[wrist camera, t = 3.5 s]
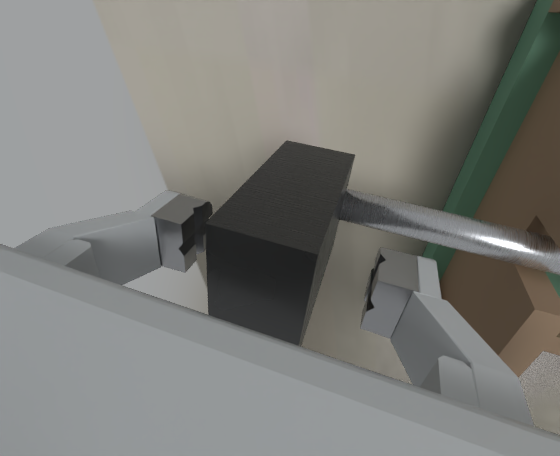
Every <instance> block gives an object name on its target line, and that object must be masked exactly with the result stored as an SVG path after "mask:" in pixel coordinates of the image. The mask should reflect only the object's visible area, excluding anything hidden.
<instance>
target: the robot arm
mask: <svg viewBox="0 0 560 456" xmlns="http://www.w3.org/2000/svg"><path fill="white" fill-rule="evenodd" d="M212 214H213V213H212V204H211V203H210V202H209V201H206V200H202V199H199V198H195V197H192V196H188V195H185V194H181V193H178V192H174V191H170V190H165V191H164V192H163V193H161V194H160V195H158V196H157V197H155V198H154V199H152V200H151V201H150V202H148V203H147V204H146V205H144V206H142V207H141V208H140V209H138V210H137V211H135V212H134V211H126V212H122V213H117V214H113V215H108V216H104V217H99V218H94V219H89V220H85V221H80V222H76V223H71V224H66V225H62V226H57V227H52V228H48V229H47V230H45V231H43V232H41V233H40V234H38V235H36V236H34V237H33V238H31V239H29V240H28V241H26V242H24V243H22V244H21V245H19V246H17V247H16V248H11V247H8V246H5V245H2V244H0V456H560V435H558V434H555V433H552V432H549V431H546V430H543V429H541V428H538V427H535V426H534V424H533V421H532V418H531V415H530V412H529V408H528V405H527V402H526V399H525V396H524V393H523V390H522V386H521V383H520V380H519V378H518V377H517V376H516V374H515V373H514V372H513V371H512V370H511V369H510V368H509V367H508V366H507V365H506V364H505V363H504V362H503V360H502V359H501V358H500V357H499V356H498V355H497V354H496V353H495V352H494V351H493V350H492V349H491V347H490V346H489V345H488V344H487V343H486V342H485V341H484V340H483V339H482V338H481V337H480V336H479V335H478V333H477V332H476V331H475V330H474V329H473V328H472V327H471V326H470V325H469V324H468V323H467V322H466V320H465V319H464V318H463V317H462V316H461V315H460V314H459V313H458V312H457V311H456V310H455V309H454V308H453V306H452V305H451V304H450V303H449V302H448V301H446V300H443V299H442V298H441V291H440V284H439V277H438V270H437V263H436V261H435V260H434V259H429V258H425V257H421V256H415V255H411V254H407V253H403V252H399V251H395V250H391V249H386V248H382V247H380V248H379V251H378V253H377V256H376V260H375V267H374V269H372V270H371V273H370V277H369V280H368V283H367V287H366V292H365V298H364V300H365V305H364V308H363V311H362V319H361V326H360V328H361V329H364V330H367V331H370V332H373V333H375V334H378V335H381V336H384V337H387V338H390V339H391V342H392V344H393V346H394V348H395V350H396V352H397V354H398V356H399V358H400V360H401V362H402V364H403V366H404V368H405V370H406V372H407V374H408V376H409V378H410V380H411V382H412V384H413V385H412V384H409V383H406V382H403V381H400V380H397V379H394V378H391V377H388V376H385V375H382V374H379V373H376V372H373V371H370V370H367V369H365V368H362V367H359V366H356V365H353V364H350V363H347V362H344V361H341V360H338V359H335V358H333V357H330V356H327V355H324V354H321V353H318V352H315V351H312V350H309V349H306V348H304V347H301V346H298V345H295V344H292V343H289V342H286V341H283V340H280V339H277V338H274V337H272V336H269V335H266V334H263V333H260V332H257V331H254V330H251V329H248V328H245V327H242V326H239V325H236V324H234V323H231V322H228V321H225V320H222V319H219V318H216V317H213V316H210V315H207V314H204V313H201V312H198V311H195V310H192V309H189V308H187V307H183V306H181V305H177V304H175V303H172V302H169V301H166V300H163V299H160V298H157V297H154V296H151V295H148V294H146V293H142V292H139V291H137V290H134V289H131V288H128V287H125V286H122V285H123V284H125V283H127V282H130V281H132V280H134V279H136V278H138V277H140V276H143V275H145V274H147V273H149V272H151V271H154V270H155V269H158V268H160V267H161V266H164V267H167V268H171V269H174V270H178V271H181V272H186V271H187V270H188V269H189V268H190V267H191V266H192V264H193V263H194V262H195V261H196V260H197V258H196V254H199V253H202V252H204V251H205V250H206V233H205V223H206V222H207V221H208V220H209V219H208V218H209V217H210V216H211V215H212Z"/></svg>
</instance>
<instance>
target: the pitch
mask: <svg viewBox="0 0 560 456" xmlns="http://www.w3.org/2000/svg"><path fill="white" fill-rule="evenodd" d="M443 211H444V212H449V213H453V214H457V215H462V216H466V217H470V218H475V219H479V220H483V221H487V222H492V223H496V224H500V225H505V226H509V227H513V228H518V229H522V230H526V231H531V232H535V233H539V234H544V235H548V236H551V237H552V239H553V240H554V242H555V243H556V245H557V246H558V248H559V249H560V0H537V2H536V4H535V6H534V9H533V11H532V13H531V15H530V17H529V20H528V22H527V24H526V26H525V29H524V31H523V33H522V35H521V37H520V40H519V42H518V44H517V46H516V49H515V51H514V53H513V55H512V57H511V60H510V62H509V64H508V66H507V69H506V71H505V73H504V75H503V77H502V80H501V82H500V84H499V86H498V89H497V91H496V93H495V95H494V98H493V100H492V102H491V104H490V106H489V109H488V111H487V113H486V115H485V118H484V120H483V122H482V124H481V126H480V129H479V131H478V133H477V135H476V138H475V140H474V142H473V144H472V146H471V149H470V151H469V153H468V155H467V158H466V160H465V162H464V164H463V166H462V169H461V171H460V173H459V175H458V178H457V180H456V182H455V184H454V186H453V189H452V191H451V193H450V195H449V198H448V200H447V202H446V204H445V207H444V209H443ZM422 257H425V258H429V259H434V260H435V261H436V263H437V270H438V277H439V284H440V291H441V298H442V299H443V300H446V301H448V302H449V303H450V304H451V305H452V306H453V308H454V309H455V310H456V311H457V312H458V313H459V314H460V315H461V316H462V317H463V318H464V319H465V320H466V322H467V323H468V324H469V325H470V326H471V327H472V328H473V329H474V330H475V331H476V332H477V333H478V335H479V336H480V337H481V338H482V339H483V340H484V341H485V342H486V343H487V344H488V345H489V346H490V347H491V349H492V350H493V351H494V352H495V353H496V354H497V355H498V356H499V357H500V358H501V359H502V360H503V362H504V363H505V364H506V365H507V366H508V367H509V368H510V369H511V370H512V371H513V372H514V373H515V374H516V376H517V377H519V376H520V375H521V374H522V373H523V372H524V371H525V370H526V369H527V368H528V366H529V365H530V364H531V363H532V362H533V361H534V360H535V359H536V358H537V357H538V356H539V355H540V353H541V352H542V351H546V352H549V353H553V354H556V355H560V275H557V274H553V273H549V272H545V271H541V270H537V269H533V268H529V267H525V266H521V265H517V264H513V263H509V262H505V261H501V260H497V259H493V258H490V257H486V256H482V255H478V254H474V253H470V252H466V251H462V250H458V249H454V248H450V247H446V246H442V245H438V244H434V243H430V242H428V244H427V247H426V249H425V251H424V253H423V255H422Z"/></svg>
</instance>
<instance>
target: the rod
mask: <svg viewBox="0 0 560 456" xmlns="http://www.w3.org/2000/svg"><path fill="white" fill-rule="evenodd" d="M354 157H355V155H354V154H349V153H344V152H339V151H335V150H330V149H325V148H320V147H315V146H311V145H306V144H301V143H296V142H292V141H286V142H285V143H284V144H283V145H282V146H281V147H280V148H279V149H278V150H277V151H276V152H275V153H274V154H273V155H272V156H271V157H270V158H269V159H268V160H267V161H266V162H265V163H264V164H263V165H262V166H261V167H260V168H259V169H258V170H257V171H256V172H255V173H254V174H253V175H252V176H251V177H250V178H249V179H248V180H247V181H246V182H245V183H244V184H243V185H242V186H241V187H240V188H239V189H238V190H237V191H236V192H235V193H234V194H233V195H232V197H231V198H230V199H229V200H228V201H227V202H226V203H225V204H224V205H223V206H222V207H221V208H220V209H219V210H218V211H217V212H216V213H215V214H214V215H213V216H212V217H211V218H210V219H209V220H208V221H207V222H206V223H205V233H206V259H207V286H208V312H209V315H210V316H213V317H216V318H219V319H222V320H225V321H228V322H231V323H234V324H236V325H239V326H242V327H245V328H248V329H251V330H254V331H257V332H260V333H263V334H266V335H269V336H272V337H274V338H277V339H280V340H283V341H286V342H289V343H292V344H295V345H298V346H301V345H302V342H303V338H304V335H305V332H306V329H307V326H308V323H309V320H310V316H311V313H312V310H313V307H314V304H315V301H316V298H317V294H318V291H319V288H320V285H321V282H322V279H323V276H324V272H325V269H326V266H327V263H328V260H329V257H330V254H331V250H332V247H333V244H334V240H335V235H336V231H337V227H338V223H339V220H343V221H347V222H351V223H355V224H359V225H363V226H367V227H371V228H375V229H378V230H382V231H386V232H390V233H394V234H398V235H402V236H406V237H410V238H414V239H418V240H422V241H426V242H430V243H434V244H438V245H442V246H446V247H450V248H454V249H458V250H462V251H466V252H470V253H474V254H478V255H482V256H486V257H490V258H493V259H497V260H501V261H505V262H509V263H513V264H517V265H521V266H525V267H529V268H533V269H537V270H541V271H545V272H549V273H553V274H557V275H560V249H559V248H558V246H557V245H556V243H555V242H554V240H553V239H552V237H551V236H548V235H544V234H539V233H535V232H531V231H526V230H522V229H518V228H513V227H509V226H505V225H500V224H496V223H492V222H487V221H483V220H479V219H475V218H470V217H466V216H462V215H457V214H453V213H449V212H444V211H440V210H436V209H431V208H427V207H423V206H418V205H414V204H410V203H405V202H401V201H397V200H392V199H388V198H384V197H380V196H375V195H371V194H367V193H362V192H358V191H354V190H349V189H347V186H348V182H349V178H350V174H351V170H352V165H353V161H354Z"/></svg>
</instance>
